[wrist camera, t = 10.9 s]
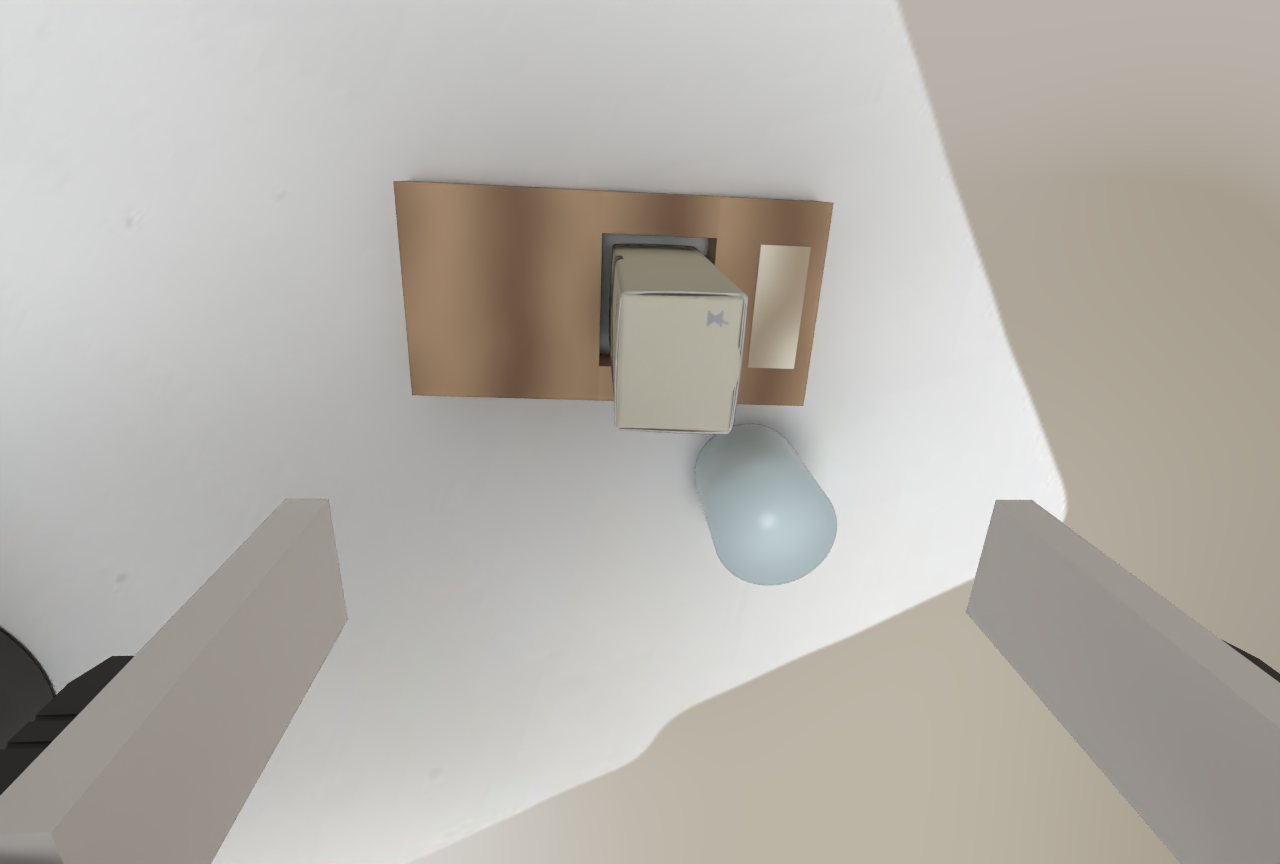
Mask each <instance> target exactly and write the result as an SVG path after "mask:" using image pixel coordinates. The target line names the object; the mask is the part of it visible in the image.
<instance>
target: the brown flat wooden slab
mask: <svg viewBox="0 0 1280 864" xmlns="http://www.w3.org/2000/svg"><path fill="white" fill-rule="evenodd" d="M394 193H395V204H396V215H397V227H398V238H399V250H400V261H401V273H402V284H403V296H404V307H405V318H406V330H407V341H408V353H409V364H410V376H411V387H412V395H421V396H458V397H495V398H532V399H569V400H606V401H614V393H613V383H612V372H611V360H610V354H599V342H600V301H601V260H602V233H613V234H635V235H658V236H680V237H702V238H709V244H708V256H707V259H708V260H709V261H710V262H711V263H712V264H714V265H715V266H716V267H717V268H718V269H719V270H720V271H721V272H722V273H723V274H724V275H725V276H726V277H728V278H729V279H730V280H731V281H732V282H733V283H734V284H735V285H736V286H738V287H739V288H740V289H741V290H742V291H743V292H744V293H745V294H746V295H747V296H748V306H747V316H746V327H745V338H744V347H743V356H742V367H741V374H740V382H739V389H738V397H737V404H753V405H790V406H803V404H804V397H805V391H806V384H807V377H808V370H809V364H810V357H811V350H812V344H813V337H814V330H815V323H816V317H817V310H818V303H819V297H820V290H821V283H822V276H823V270H824V263H825V256H826V250H827V243H828V236H829V229H830V223H831V216H832V209H833V203H829V202H820V201H804V200H784V199H763V198H743V197H723V196H703V195H682V194H662V193H642V192H622V191H601V190H581V189H561V188H540V187H520V186H500V185H480V184H459V183H439V182H419V181H394Z"/></svg>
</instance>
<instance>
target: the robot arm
mask: <svg viewBox="0 0 1280 864" xmlns="http://www.w3.org/2000/svg"><path fill="white" fill-rule="evenodd" d="M966 613H967V614H968V615H969V617H970V618H971V619H972V620H973V621H974V622H975V624H976V625H977V626H978V627H979V628H980V629H981V630H982V632H983V633H984V634H985V635H986V636H987V637H988V639H989V640H990V641H991V642H992V643H993V645H994V646H995V647H996V648H997V649H998V650H999V651H1000V653H1001V654H1002V655H1003V656H1004V657H1005V659H1006V660H1007V661H1008V662H1009V663H1010V665H1011V666H1012V667H1013V668H1014V669H1015V670H1016V672H1017V673H1018V674H1019V675H1020V676H1021V677H1022V679H1023V680H1024V681H1025V682H1026V683H1027V684H1028V686H1029V687H1030V688H1031V689H1032V690H1033V691H1034V693H1035V694H1036V695H1037V696H1038V697H1039V698H1040V700H1041V701H1042V702H1043V703H1044V704H1045V706H1046V707H1047V708H1048V709H1049V710H1050V711H1051V713H1052V714H1053V715H1054V716H1055V717H1056V718H1057V720H1058V721H1059V722H1060V723H1061V724H1062V725H1063V727H1064V728H1065V729H1066V730H1067V731H1068V732H1069V734H1070V735H1071V736H1072V737H1073V738H1074V739H1075V740H1076V742H1077V743H1078V744H1079V745H1080V746H1081V748H1082V749H1083V750H1084V751H1085V752H1086V754H1087V755H1088V756H1089V757H1090V758H1091V759H1092V761H1093V762H1094V763H1095V764H1096V765H1097V766H1098V768H1100V770H1101V771H1102V772H1103V773H1104V775H1105V776H1106V777H1107V778H1108V779H1109V780H1110V781H1111V783H1112V784H1113V785H1114V786H1115V787H1116V788H1117V790H1118V791H1119V792H1120V793H1121V794H1122V796H1123V797H1124V798H1125V799H1126V800H1127V801H1128V803H1129V804H1130V805H1131V806H1132V807H1133V808H1134V810H1135V811H1136V812H1137V813H1138V814H1139V816H1140V817H1141V818H1142V819H1143V820H1144V821H1145V823H1146V824H1147V825H1148V826H1149V827H1150V828H1151V830H1152V831H1153V832H1154V833H1155V834H1156V835H1157V837H1159V839H1160V840H1161V841H1162V842H1163V844H1164V845H1165V846H1166V847H1167V848H1168V849H1169V851H1170V852H1171V853H1172V854H1173V855H1174V856H1175V858H1176V859H1177V860H1178V861H1179V862H1180V863H1181V864H1280V674H1279V673H1278V672H1276V671H1275V670H1273V669H1272V668H1271V667H1269V666H1268V665H1267V664H1265V663H1264V662H1263V661H1261V660H1260V659H1258V658H1256V657H1254V656H1252V655H1250V654H1248V653H1247V652H1245V651H1243V650H1241V649H1239V648H1237V647H1235V646H1233V645H1231V644H1229V643H1227V642H1225V641H1223V640H1221V639H1220V638H1218V637H1217V636H1216V635H1214V634H1213V633H1211V632H1210V631H1209V630H1207V629H1206V628H1205V627H1203V626H1202V625H1201V624H1199V623H1198V622H1196V621H1195V620H1194V619H1192V618H1191V617H1190V616H1188V615H1187V614H1186V613H1184V612H1183V611H1182V610H1180V609H1179V608H1178V607H1176V606H1175V605H1174V604H1172V603H1171V602H1169V601H1168V600H1167V599H1165V598H1164V597H1163V596H1161V595H1160V594H1159V593H1157V592H1156V591H1154V590H1153V589H1152V588H1150V587H1149V586H1148V585H1146V584H1145V583H1144V582H1142V581H1141V580H1139V579H1138V578H1137V577H1136V576H1134V575H1133V574H1131V573H1130V572H1129V571H1127V570H1126V569H1125V568H1123V567H1122V566H1121V565H1119V564H1118V563H1117V562H1115V561H1114V560H1112V559H1111V558H1110V557H1108V556H1107V555H1106V554H1104V553H1103V552H1102V551H1100V550H1099V549H1097V548H1096V547H1095V546H1093V545H1092V544H1091V543H1089V542H1088V541H1087V540H1085V539H1084V538H1082V537H1081V536H1080V535H1078V534H1077V533H1076V532H1074V531H1073V530H1072V529H1070V528H1069V527H1068V526H1066V525H1065V524H1064V523H1062V522H1061V521H1060V520H1058V519H1057V518H1055V517H1054V516H1053V515H1051V514H1050V513H1049V512H1047V511H1046V510H1045V509H1043V508H1042V507H1041V506H1039V505H1038V504H1036V503H1035V502H1034V501H1032V500H996V502H995V505H994V509H993V513H992V516H991V520H990V524H989V528H988V531H987V535H986V539H985V543H984V546H983V550H982V554H981V558H980V561H979V565H978V569H977V572H976V576H975V580H974V584H973V588H972V591H971V595H970V599H969V602H968V606H967V610H966ZM346 621H347V613H346V607H345V601H344V594H343V588H342V582H341V575H340V569H339V563H338V557H337V550H336V544H335V538H334V531H333V525H332V519H331V512H330V506H329V500H328V499H285V500H284V501H283V502H282V504H281V505H280V506H279V507H278V508H277V509H276V510H275V511H274V512H273V513H272V514H271V515H270V516H269V517H268V518H267V519H266V520H265V521H264V522H263V523H262V524H261V525H260V526H259V527H258V528H257V530H256V531H255V532H254V533H253V534H252V535H251V536H250V537H249V538H248V539H247V540H246V541H245V542H244V543H243V544H242V545H241V546H240V547H239V548H238V549H237V550H236V551H235V552H234V553H233V554H232V555H231V557H230V558H229V559H228V560H227V561H226V562H225V563H224V564H223V565H222V566H221V567H220V568H219V569H218V570H217V571H216V572H215V573H214V574H213V575H212V576H211V577H210V578H209V579H208V580H207V581H206V582H205V584H204V585H203V586H202V587H201V588H200V589H199V590H198V591H197V592H196V593H195V594H194V595H193V596H192V597H191V598H190V599H189V600H188V601H187V602H186V603H185V604H184V605H183V606H182V607H181V608H180V610H179V611H178V612H177V613H176V614H175V615H174V616H173V617H172V618H171V619H170V620H169V621H168V622H167V623H166V624H165V625H164V626H163V627H162V628H161V629H160V630H159V631H158V632H157V633H156V634H155V635H154V637H153V638H152V639H151V640H150V641H149V642H148V643H147V644H146V645H145V646H144V647H143V648H142V649H141V650H140V651H139V652H138V653H137V654H136V655H135V656H112V657H110V658H108V659H107V660H105V661H104V662H102V663H100V664H99V665H97V666H96V667H94V668H92V669H91V670H89V671H88V672H86V673H84V674H83V675H81V676H80V677H78V678H76V679H75V680H73V681H71V682H70V683H68V684H67V685H66V686H65V687H64V688H63V689H62V690H61V691H60V692H59V693H58V694H57V695H56V696H55V697H54V698H53V695H52V691H51V689H50V687H49V684H48V682H47V681H46V679H45V677H44V675H43V674H42V672H41V670H40V669H39V668H38V666H37V665H36V664H35V662H34V661H33V660H32V659H31V658H30V656H29V655H28V654H27V653H26V652H25V651H24V650H23V649H22V648H21V647H20V646H19V645H18V644H17V643H15V642H14V641H13V640H12V639H11V638H9V637H8V636H7V635H5V634H4V633H3V632H1V631H0V864H211V862H212V861H213V859H214V857H215V855H216V854H217V852H218V850H219V848H220V846H221V845H222V843H223V841H224V839H225V837H226V836H227V834H228V832H229V830H230V829H231V827H232V825H233V823H234V821H235V820H236V818H237V816H238V814H239V812H240V811H241V809H242V807H243V805H244V804H245V802H246V800H247V798H248V796H249V795H250V793H251V791H252V789H253V787H254V786H255V784H256V782H257V780H258V779H259V777H260V775H261V773H262V771H263V770H264V768H265V766H266V764H267V762H268V761H269V759H270V757H271V755H272V754H273V752H274V750H275V748H276V746H277V745H278V743H279V741H280V739H281V737H282V736H283V734H284V732H285V730H286V729H287V727H288V725H289V723H290V721H291V720H292V718H293V716H294V714H295V712H296V711H297V709H298V707H299V705H300V704H301V702H302V700H303V698H304V696H305V695H306V693H307V691H308V689H309V687H310V686H311V684H312V682H313V680H314V679H315V677H316V675H317V673H318V671H319V670H320V668H321V666H322V664H323V662H324V661H325V659H326V657H327V655H328V654H329V652H330V650H331V648H332V646H333V645H334V643H335V641H336V639H337V637H338V636H339V634H340V632H341V630H342V629H343V627H344V625H345V623H346Z"/></svg>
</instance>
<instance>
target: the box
mask: <svg viewBox="0 0 1280 864" xmlns="http://www.w3.org/2000/svg"><path fill="white" fill-rule="evenodd" d="M747 306H748V296H747V295H746V294H745V293H744V292H743V291H742V290H741V289H740V288H739V287H738V286H736V285H735V284H734V283H733V282H732V281H731V280H730V279H729V278H728V277H726V276H725V275H724V274H723V273H722V272H721V271H720V270H719V269H718V268H717V267H716V266H715V265H714V264H712V263H711V262H710V261H709V260H708V259H707V258H706V257H705V256H704V255H703V254H702V253H701V252H700V251H698V250H697V249H696V248H695V247H692V246H673V245H651V244H615V245H614V246H613V249H612V262H611V279H610V298H609V345H610V360H611V372H612V383H613V393H614V410H615V427H616V429H618V430H630V431H647V432H666V433H685V434H729V433H730V431H731V430H732V427H733V424H734V417H735V412H736V405H737V397H738V389H739V382H740V374H741V367H742V356H743V347H744V338H745V327H746V316H747Z"/></svg>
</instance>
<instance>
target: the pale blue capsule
mask: <svg viewBox="0 0 1280 864" xmlns="http://www.w3.org/2000/svg"><path fill="white" fill-rule="evenodd" d="M694 474H695V484H696V487H697V491H698V494H699V497H700V500H701V504H702V507H703V510H704V513H705V517H706V520H707V523H708V527H709V530H710V533H711V536H712V540H713V543H714V546H715V549H716V552H717V555H718V557H719V559H720V561H721V562H722V564H723V565H724V566H725V567H726V568H727V569H728V570H729V571H730V572H731V573H732V574H733V575H735V576H736V577H738V578H740V579H742V580H744V581H747V582H750V583H753V584H759V585H779V584H785V583H788V582H792V581H795V580H797V579H799V578H801V577H803V576H805V575H807V574H808V573H810V572H811V571H812V570H814V569H815V568H816V567H817V566H818V565H819V564H820V563H821V562H822V561H823V560H824V559H825V558H826V556H827V555H828V553H829V552H830V550H831V548H832V546H833V543H834V540H835V537H836V532H837V519H836V514H835V510H834V508H833V505H832V503H831V502H830V500H829V498H828V497H827V496H826V494H825V493H824V491H823V490H822V489H821V487H820V486H819V484H818V483H817V482H816V480H815V479H814V477H813V476H812V475H811V473H810V472H809V470H808V469H807V468H806V466H805V465H804V463H803V462H802V461H801V459H800V458H799V456H798V455H797V454H796V452H795V451H794V449H793V448H792V447H791V445H790V444H789V442H788V441H787V440H786V439H785V438H784V437H783V436H782V435H781V434H780V433H778V432H777V431H775V430H773V429H771V428H769V427H766V426H763V425H757V424H742V425H737V426H733V427H732V430H731V431H730V433H729V434H717V435H715V436H714V437H713V438H712V439H710V440H709V441H708V443H707V444H706V445H705V446H704V447H703V449H702V451H701V452H700V454H699V456H698V459H697V461H696V465H695V473H694Z"/></svg>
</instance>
